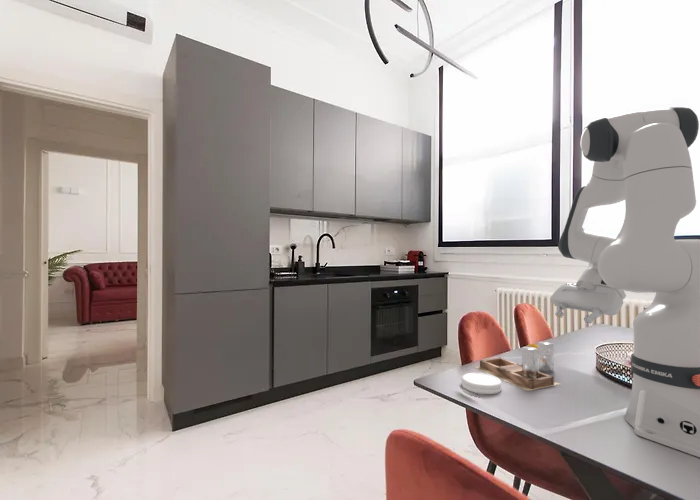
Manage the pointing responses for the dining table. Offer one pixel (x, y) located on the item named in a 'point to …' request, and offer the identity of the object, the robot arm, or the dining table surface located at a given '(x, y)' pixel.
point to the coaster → (481, 384)
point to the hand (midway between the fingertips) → (572, 318)
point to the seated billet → (530, 362)
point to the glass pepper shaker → (546, 356)
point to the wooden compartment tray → (514, 374)
